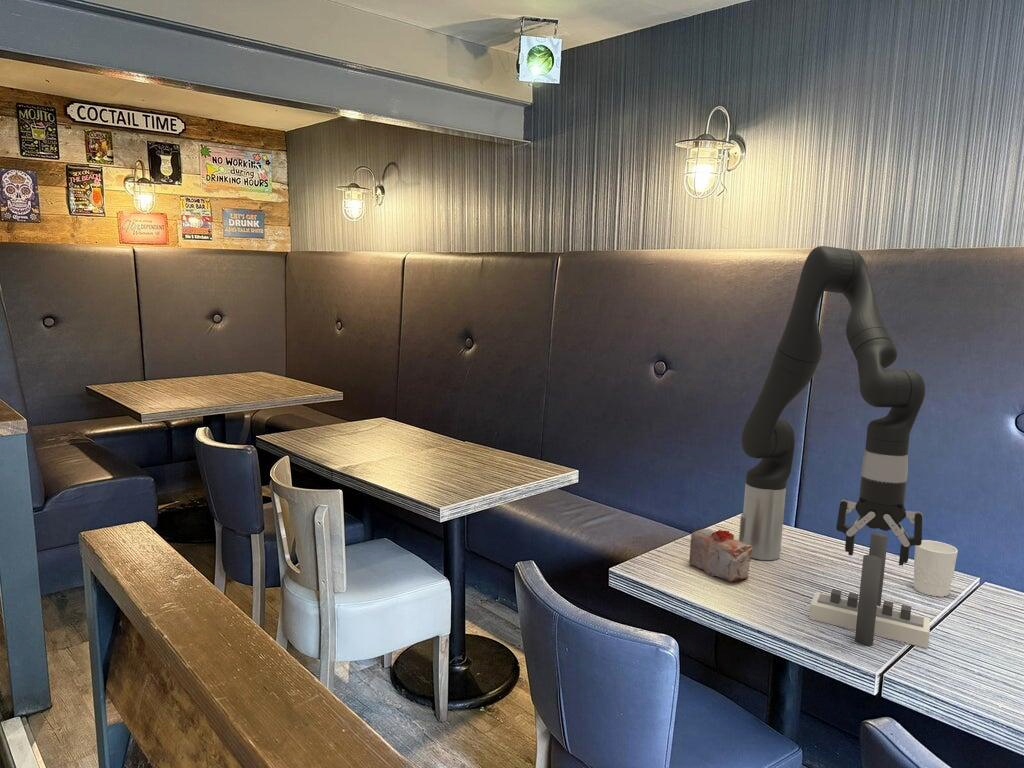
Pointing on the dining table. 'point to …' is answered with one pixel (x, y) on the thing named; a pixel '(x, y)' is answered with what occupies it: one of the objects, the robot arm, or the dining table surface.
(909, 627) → the breaker panel
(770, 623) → the dining table surface
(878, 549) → the dark grey cylinder rod
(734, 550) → the food item
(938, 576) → the white cup
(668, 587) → the dining table surface
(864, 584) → the dark grey post
